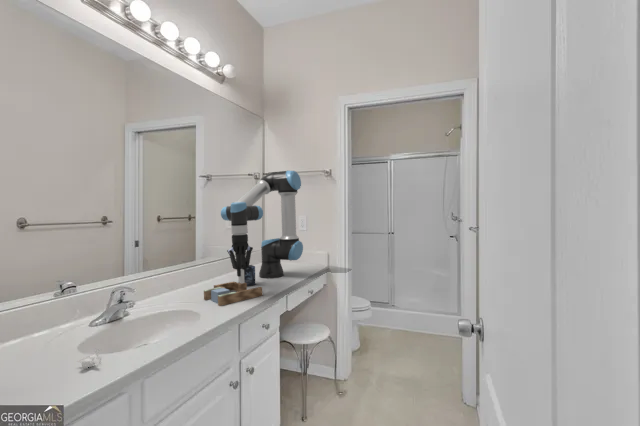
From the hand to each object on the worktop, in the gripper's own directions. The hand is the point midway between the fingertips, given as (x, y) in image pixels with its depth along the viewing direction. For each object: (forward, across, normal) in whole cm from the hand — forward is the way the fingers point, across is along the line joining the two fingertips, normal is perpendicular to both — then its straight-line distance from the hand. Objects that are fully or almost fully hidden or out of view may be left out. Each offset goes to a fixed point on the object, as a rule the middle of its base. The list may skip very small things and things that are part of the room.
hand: (241, 282), depth 152 cm
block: (+6, +12, 0) cm, 13 cm away
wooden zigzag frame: (+6, +5, -3) cm, 8 cm away
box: (+7, -13, -17) cm, 22 cm away
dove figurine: (+5, +65, +32) cm, 73 cm away
